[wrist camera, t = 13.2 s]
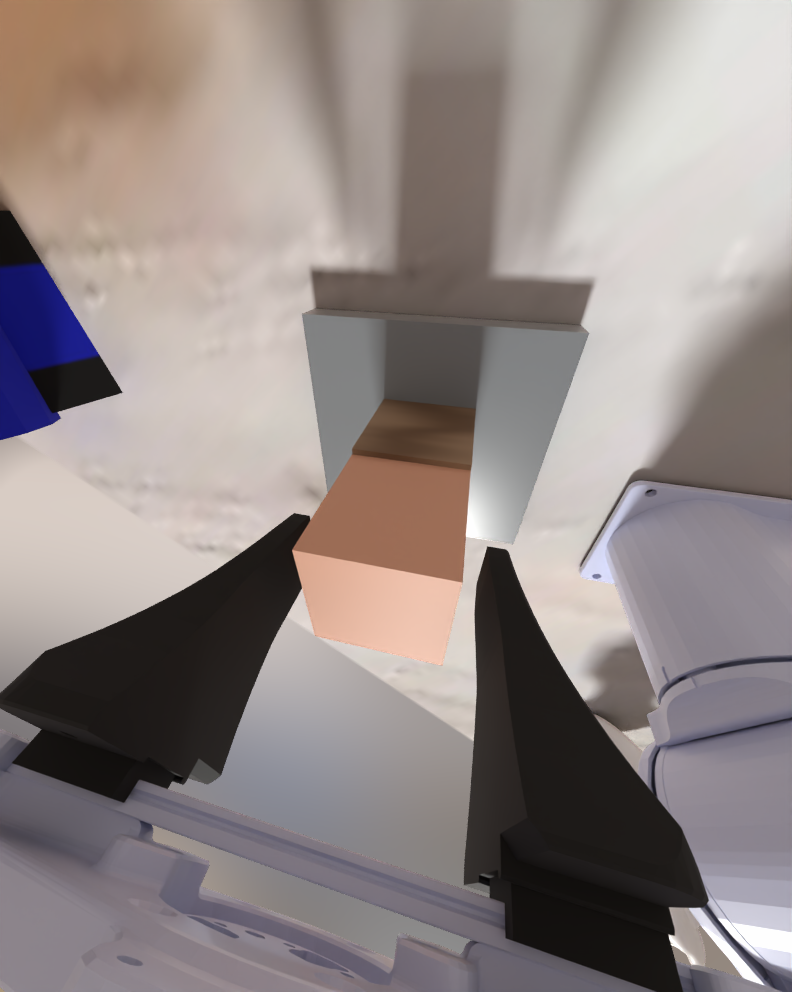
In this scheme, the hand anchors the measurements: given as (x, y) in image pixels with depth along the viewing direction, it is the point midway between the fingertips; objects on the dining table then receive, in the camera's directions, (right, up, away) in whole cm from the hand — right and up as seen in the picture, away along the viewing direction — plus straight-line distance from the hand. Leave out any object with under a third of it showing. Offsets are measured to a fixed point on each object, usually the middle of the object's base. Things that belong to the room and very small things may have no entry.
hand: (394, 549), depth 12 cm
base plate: (+2, +5, +7) cm, 9 cm away
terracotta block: (+1, +1, +2) cm, 2 cm away
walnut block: (+2, +5, +5) cm, 7 cm away
